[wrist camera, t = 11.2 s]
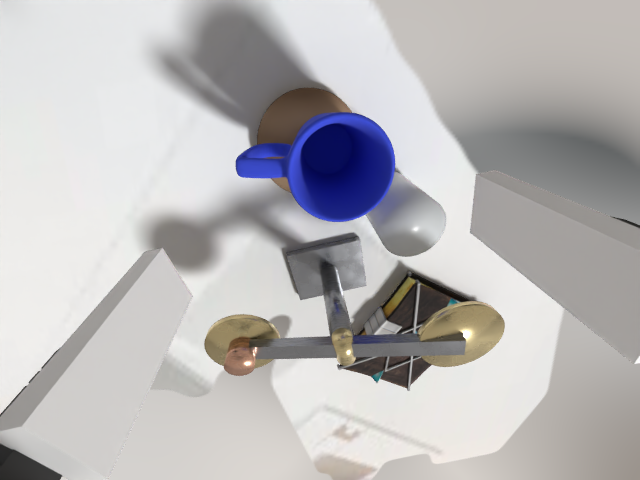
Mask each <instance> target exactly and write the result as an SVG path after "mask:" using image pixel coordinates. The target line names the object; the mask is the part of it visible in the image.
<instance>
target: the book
mask: <svg viewBox="0 0 640 480" xmlns="http://www.w3.org/2000/svg"><path fill="white" fill-rule="evenodd" d="M467 301H471V300H468V299H466V298H464V297H462V296H459V295H457V294H455V293H453V292H451V291H449V290H447V289H445V288H442V287H440V286H438V285H436V284H434V283H432V282H430V281H428V280H426V279H424V278H422V277H420V276H418V275H416V274H414V273H412V272H410V271H408V274H407V276H406V277H405V278H404V280H403V281H402V282H401V284H400V285H399V286H398V288H397V289H396V290H395V292H394V293H393V294H392V296H391V297H390V298H389V299H388V301H387V302H386V303H385V304H384V305H383V306H382V307H381V306H380V307H379V308H378V309H377V310H376V312H375V313H374V314H373V315H372V316H371V317H370V318H369V319H368V321H367V322H366V323H365V324H364V329H363V330H362V331H361V332H360V333H359V334H358V335H382V334H408V333H418V331H419V329H420V327H421V326H422V325H423V323H424V322H425V321H426V320H427V319H428V318H429V317H431V316H432V315H433V314H435V313H436V312H438V311H439V310H441V309H443V308H445V307H448V306H450V305H453V304H456V303H460V302H467ZM337 366H338V370H340V369H346V370H350V371H354V372H358V373H362V374H365V375H368V376H371V377H372V378H373V379H374V380H375V381H376V382H378V381H379V379H382V380H385V381H388V382H391V383H394V384H396V385H399V386H402V387H405V388H407V390H408V391H410V385H411V384H412V383H413V382H414V381H415V380H416V379H417V378H418V377H419V376H420V375H421V374H422V373H423V372H424V371H425V370H426V369H427V368H429V367H430V366H431V364H429V363H427V362H426V361H425V360H424V359H423V358H422V357H421V356H390V357H356V360H355V361H354V363H353V364H351V365H348V366H344V365H341V364H340V366H339V364H338V365H337Z"/></svg>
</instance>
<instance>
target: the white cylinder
mask: <svg viewBox="0 0 640 480" xmlns="http://www.w3.org/2000/svg"><path fill="white" fill-rule="evenodd" d="M366 216H367V218H368V219H369V221H370V223H371V224H372V226H373V228H374V229H375V231H376V233H377V235H378V236H379V238H380V240H381V241H382V243H383V245H384V246H385V248H386V249H387V250H388V251H390V252H391V253H393V254H395V255H398V256H405V257H407V256H415V255H418V254H421V253H423V252H425V251H427V250H428V249H430V248H431V247H432V246H434V245H435V244H436V243H437V241H438V240H439V239H440V237H441V236H442V234H443V232H444V230H445V226H446V215H445V212H444V209H443V208H442V206H441V205H440V204H439V203H438V202H436V201H435V200H434V199H432V198H431V197H430V196H429V195H427V194H426V193H425V192H423V191H422V190H421V189H420V188H418V187H417V186H416V185H414V184H413V183H412V182H411V181H409V180H408V179H407V178H405V177H404V176H403V175H402V174H400V173H398V172H395V171H394V177H393V180H392V183H391V186H390V188H389V190H388V192H387V194H386V195H385V197H384V198H383V199H382V201H381V202H380V203H379V204H378V205H377V206H376V207H375V208H374V209H372V210H371V211H370V212H368V213H367V214H366Z"/></svg>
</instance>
